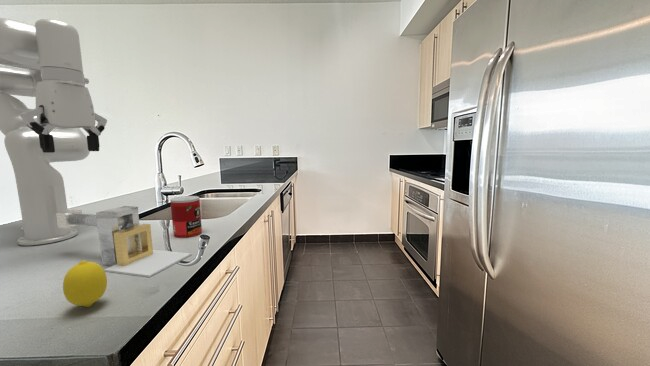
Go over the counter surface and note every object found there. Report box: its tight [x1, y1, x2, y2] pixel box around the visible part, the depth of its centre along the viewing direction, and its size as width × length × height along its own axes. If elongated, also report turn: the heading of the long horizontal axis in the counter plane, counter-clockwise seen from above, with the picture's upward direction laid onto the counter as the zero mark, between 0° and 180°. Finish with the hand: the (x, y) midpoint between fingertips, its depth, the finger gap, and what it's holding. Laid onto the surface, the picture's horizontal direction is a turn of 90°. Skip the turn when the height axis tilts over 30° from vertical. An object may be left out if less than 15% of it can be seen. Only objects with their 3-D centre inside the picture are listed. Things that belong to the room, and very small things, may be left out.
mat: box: [103, 249, 192, 278], centre depth 65 cm, size 12×12×1 cm
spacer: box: [114, 223, 154, 266], centre depth 66 cm, size 2×7×7 cm, turn 163°
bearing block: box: [95, 205, 142, 267], centre depth 66 cm, size 4×7×12 cm, turn 165°
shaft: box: [56, 209, 128, 229], centre depth 68 cm, size 18×4×4 cm, turn 75°
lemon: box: [62, 260, 108, 308], centre depth 47 cm, size 6×6×8 cm
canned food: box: [170, 195, 203, 239], centre depth 85 cm, size 8×8×11 cm
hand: (72, 151), depth 70 cm, fingers open, 9 cm apart
